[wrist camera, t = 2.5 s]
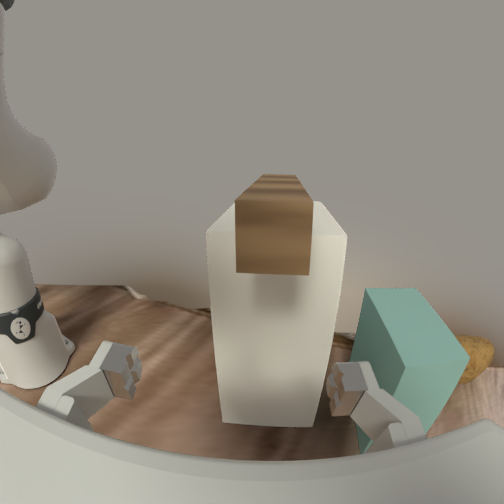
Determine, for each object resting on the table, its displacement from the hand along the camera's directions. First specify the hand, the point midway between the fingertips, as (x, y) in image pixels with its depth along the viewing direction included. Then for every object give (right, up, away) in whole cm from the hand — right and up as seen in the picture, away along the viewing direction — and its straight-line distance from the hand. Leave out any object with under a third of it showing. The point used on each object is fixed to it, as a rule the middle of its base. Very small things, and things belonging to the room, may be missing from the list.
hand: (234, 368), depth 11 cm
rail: (+3, +7, +15) cm, 17 cm away
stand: (+4, -15, +30) cm, 34 cm away
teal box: (+19, -18, +22) cm, 34 cm away
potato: (+36, -17, +25) cm, 47 cm away
